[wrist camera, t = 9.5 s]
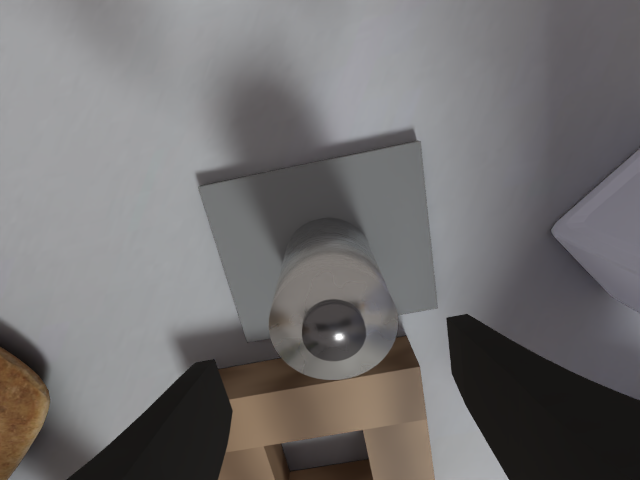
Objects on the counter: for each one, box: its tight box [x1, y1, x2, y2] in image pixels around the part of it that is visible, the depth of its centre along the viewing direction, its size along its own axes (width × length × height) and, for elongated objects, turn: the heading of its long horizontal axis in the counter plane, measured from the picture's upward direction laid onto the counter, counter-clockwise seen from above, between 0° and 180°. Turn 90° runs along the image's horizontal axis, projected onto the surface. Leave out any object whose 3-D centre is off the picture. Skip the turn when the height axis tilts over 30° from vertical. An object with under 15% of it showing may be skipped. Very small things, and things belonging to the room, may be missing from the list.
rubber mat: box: [198, 141, 438, 343], centre depth 20 cm, size 12×10×1 cm
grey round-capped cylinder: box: [269, 218, 398, 380], centre depth 16 cm, size 5×5×8 cm
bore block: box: [218, 336, 435, 480], centre depth 24 cm, size 14×14×3 cm
